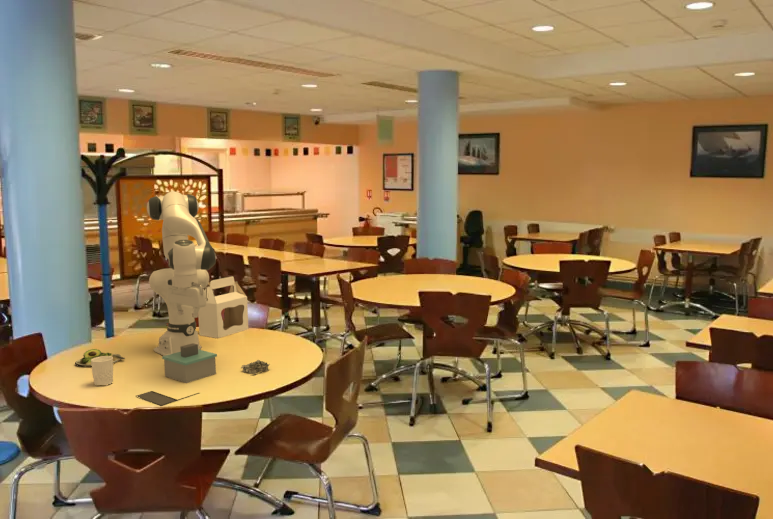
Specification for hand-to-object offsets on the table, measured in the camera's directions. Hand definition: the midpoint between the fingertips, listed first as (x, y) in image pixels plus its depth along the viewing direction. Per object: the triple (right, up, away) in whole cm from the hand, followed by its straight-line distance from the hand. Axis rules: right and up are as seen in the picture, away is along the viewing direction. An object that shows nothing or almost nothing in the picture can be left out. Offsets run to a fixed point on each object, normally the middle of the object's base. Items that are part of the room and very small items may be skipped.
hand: (187, 316), depth 256 cm
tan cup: (-32, -26, -4) cm, 41 cm away
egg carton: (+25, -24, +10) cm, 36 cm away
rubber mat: (-2, -28, -17) cm, 33 cm away
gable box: (-5, -15, +76) cm, 77 cm away
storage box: (0, -25, +3) cm, 25 cm away
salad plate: (-47, -23, +26) cm, 58 cm away
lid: (0, -18, +2) cm, 18 cm away
